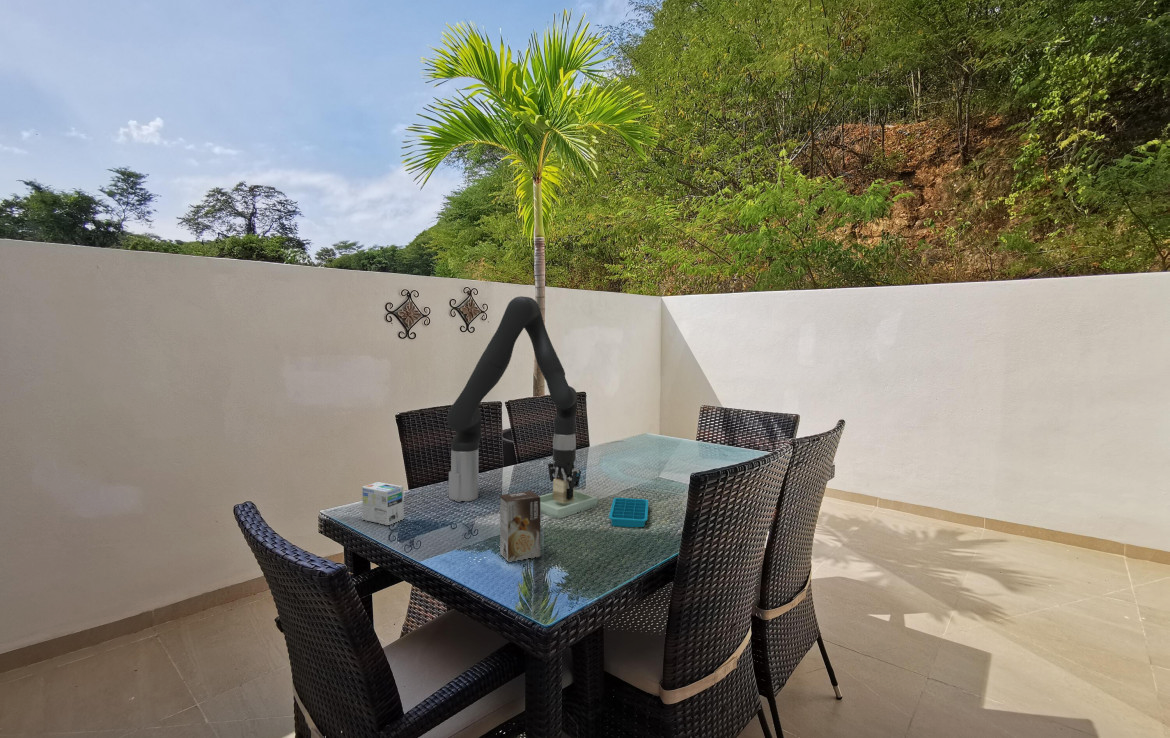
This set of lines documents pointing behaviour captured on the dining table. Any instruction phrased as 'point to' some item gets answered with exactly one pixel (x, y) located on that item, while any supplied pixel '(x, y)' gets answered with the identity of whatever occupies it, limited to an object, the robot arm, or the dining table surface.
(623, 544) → the dining table surface
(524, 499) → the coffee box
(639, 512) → the ice cube tray
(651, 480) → the dining table surface
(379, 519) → the light bulb box
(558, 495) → the birch block
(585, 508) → the tray
